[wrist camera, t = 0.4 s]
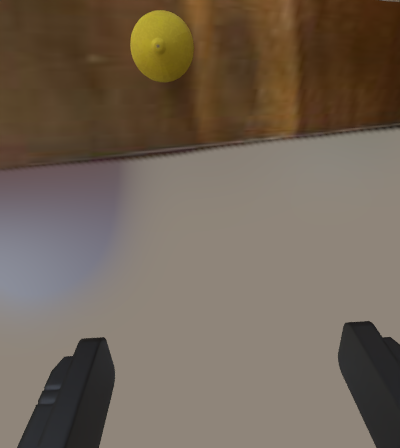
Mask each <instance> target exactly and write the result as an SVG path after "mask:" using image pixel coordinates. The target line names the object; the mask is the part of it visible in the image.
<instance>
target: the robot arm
mask: <svg viewBox="0 0 400 448" xmlns="http://www.w3.org/2000/svg"><path fill="white" fill-rule="evenodd" d="M338 362H339V366H340V370H341V373H342V375H343V377H344V379H345V381H346V383H347V386H348V388H349V390H350V392H351V394H352V396H353V398H354V401H355V403H356V405H357V407H358V409H359V411H360V413H361V416H362V417H363V420H364V422H365V424H366V426H367V428H368V430H369V433H370V435H371V437H372V439H373V441H374V443H375V445H376V448H400V344H398V343H397V342H396V341H395V340H393V339H392V338H391V337H384V338H382V336H381V335H380V333H379V332H378V331H377V329H376V327H375V326H374V324H373V323H371V322H370V321H365V322H349V323H345V324H344V327H343V332H342V337H341V342H340V347H339V352H338ZM114 381H115V369H114V365H113V361H112V358H111V354H110V351H109V348H108V344H107V341H106V339H105V338H104V337H102V338H86V339H81V340H80V341H79V343H78V345H77V348H76V350H75V353H74V355H73V356H70V357H69V356H68V357H64V358H63V359H62V360H61V361H60V362H59V363H58V365H57V366H56V367H55V368H54V369H53V370H52V372H51V374H50V376H49V378H48V380H47V383H46V385H45V387H44V388H45V389H44V391H42V394H41V396H40V398H39V400H38V405H36V407H35V409H34V412H33V414H32V416H31V418H30V420H29V422H28V425H27V427H26V429H25V431H24V433H23V436H22V438H21V440H20V442H19V445H18V447H17V448H99V445H100V441H101V437H102V432H103V428H104V424H105V420H106V416H107V412H108V408H109V404H110V400H111V395H112V391H113V387H114Z"/></svg>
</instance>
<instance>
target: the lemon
mask: <svg viewBox="0 0 400 448" xmlns="http://www.w3.org/2000/svg"><path fill="white" fill-rule="evenodd" d="M130 45H131V53H132V57H133V60H134V62H135V64H136V66H137V67H138V69H139V70H140V71H141V72H142V73H143V74H144V75H145V76H147V77H148V78H150V79H152V80H154V81H157V82H170V81H174V80H176V79H178V78H180V77H181V76H182V75H183V74H184V73H185V72H186V71H187V69H188V68H189V66H190V64H191V61H192V59H193V52H194V45H193V38H192V35H191V32H190V30H189V28H188V27H187V25H186V24H185V22H184V21H183V20H182V19H181V18H180V17H178V16H177V15H175V14H173V13H172V12H168V11H164V10H161V11H153V12H150V13H147V14H146V15H144V16H143V17H142V18H140V20H139V21H138V22H137V24H136V25H135V27H134V29H133V32H132V35H131V42H130Z"/></svg>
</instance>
